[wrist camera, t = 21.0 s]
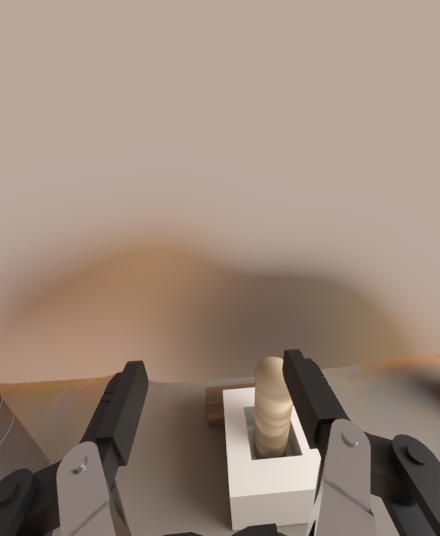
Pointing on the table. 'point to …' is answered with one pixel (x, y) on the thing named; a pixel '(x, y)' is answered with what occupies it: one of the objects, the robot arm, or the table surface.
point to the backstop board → (219, 403)
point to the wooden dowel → (271, 410)
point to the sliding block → (266, 469)
